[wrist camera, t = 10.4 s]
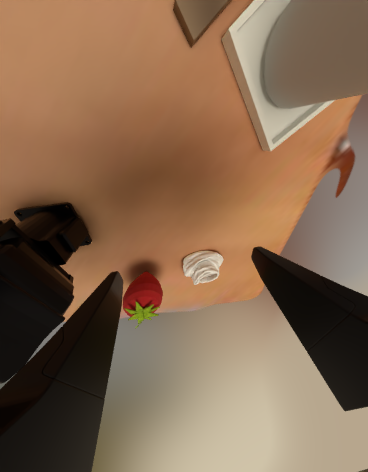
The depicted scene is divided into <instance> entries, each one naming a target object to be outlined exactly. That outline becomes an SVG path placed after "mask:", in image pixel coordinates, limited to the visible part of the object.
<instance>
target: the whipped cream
mask: <svg viewBox="0 0 368 472" xmlns="http://www.w3.org/2000/svg"><path fill="white" fill-rule="evenodd" d="M222 262H223V257H222V256H221V255H220V254H218V253H216V252H213V251H198V252H195V253H192V254H190V255H188V256H187V257H185V258H184V261H183V263H184V265H183V270H184V273H185V274H184V275H185V276H187V277H188V276H191V278H192V280H193V282H194V285H196V284H198V283H199V282H201V283H205V282H210V281H213V280H215V279H216V278H217V277H218V275H219V267H220V265H221V264H222Z"/></svg>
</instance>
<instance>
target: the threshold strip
mask: <svg viewBox="0 0 368 472" xmlns="http://www.w3.org/2000/svg"><path fill="white" fill-rule="evenodd" d="M230 2H231V0H175V2H174V9H173V10H174V12H175V14H176V17H177V19H178V21H179V23H180V25H181V27H182V29H183V32H184V34H185V36H186V38H187V40H188V42H189V44H190V46H191V47H192V46H193V45H194V44H195V43H196V41H197V40H198V39H199V38H200V37H201V36H202V34H203V33H204V32H205V31H206V30H207V29H208V27H209V26H210V25H211V24H212V23H213V22H214V20H215V19H216V18H217V17H218V16H219V14H220V13H221V12H222V11H223V10H224V9H225V7H226V6H227V5H228V4H229V3H230Z"/></svg>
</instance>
